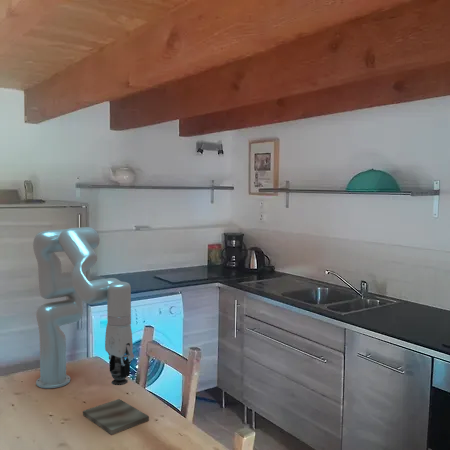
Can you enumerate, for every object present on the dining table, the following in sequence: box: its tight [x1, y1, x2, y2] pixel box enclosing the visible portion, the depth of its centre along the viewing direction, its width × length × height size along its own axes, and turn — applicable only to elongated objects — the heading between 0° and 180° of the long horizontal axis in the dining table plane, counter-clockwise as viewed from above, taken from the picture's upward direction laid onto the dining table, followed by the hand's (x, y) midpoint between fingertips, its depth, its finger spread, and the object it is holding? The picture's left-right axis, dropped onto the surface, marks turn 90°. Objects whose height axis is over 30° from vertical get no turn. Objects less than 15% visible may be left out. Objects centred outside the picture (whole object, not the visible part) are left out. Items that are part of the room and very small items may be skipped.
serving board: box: [82, 398, 150, 436], centre depth 165 cm, size 18×14×2 cm
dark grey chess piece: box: [109, 356, 129, 386], centre depth 163 cm, size 6×6×12 cm
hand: (119, 373), depth 164 cm, fingers closed on dark grey chess piece, 5 cm apart
